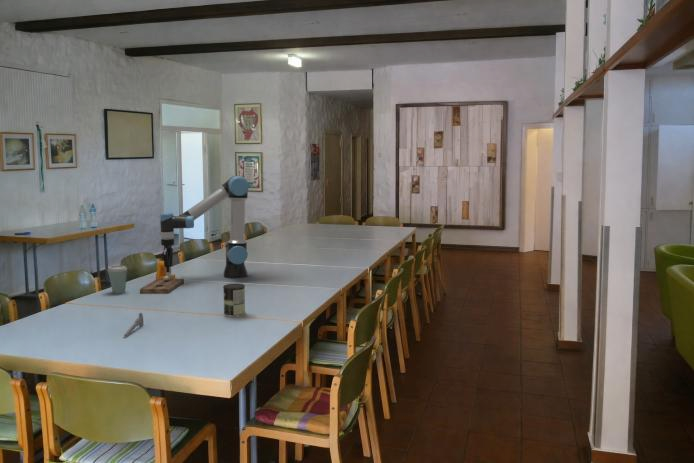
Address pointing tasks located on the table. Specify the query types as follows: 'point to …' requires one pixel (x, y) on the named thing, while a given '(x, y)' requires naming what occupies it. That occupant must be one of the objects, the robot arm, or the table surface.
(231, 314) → the coffee can
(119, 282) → the disposable coffee cup
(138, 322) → the caliper
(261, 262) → the table surface
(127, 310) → the table surface
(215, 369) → the table surface
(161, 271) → the bracket
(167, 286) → the wooden board with holes
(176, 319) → the table surface
